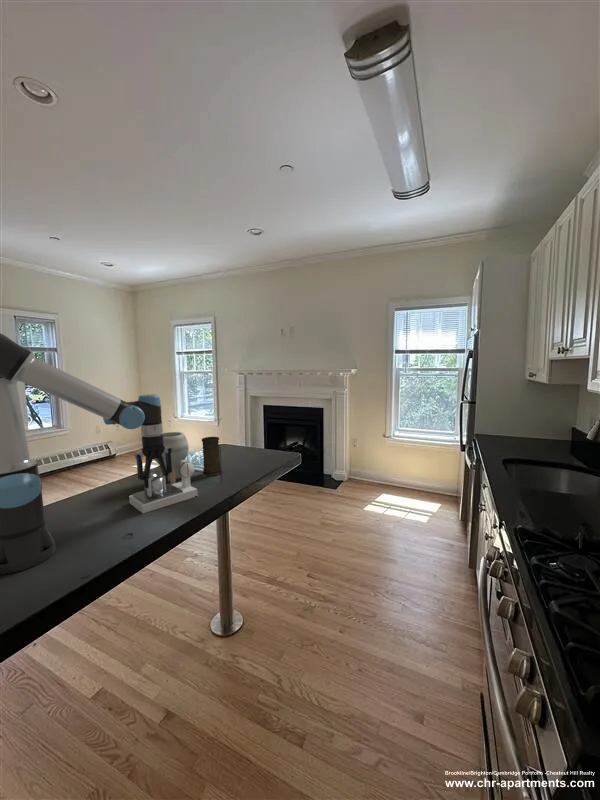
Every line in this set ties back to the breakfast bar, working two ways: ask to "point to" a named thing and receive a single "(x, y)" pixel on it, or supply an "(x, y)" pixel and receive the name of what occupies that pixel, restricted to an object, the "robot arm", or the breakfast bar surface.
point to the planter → (175, 451)
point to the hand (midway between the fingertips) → (156, 493)
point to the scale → (188, 492)
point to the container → (211, 456)
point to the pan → (145, 498)
